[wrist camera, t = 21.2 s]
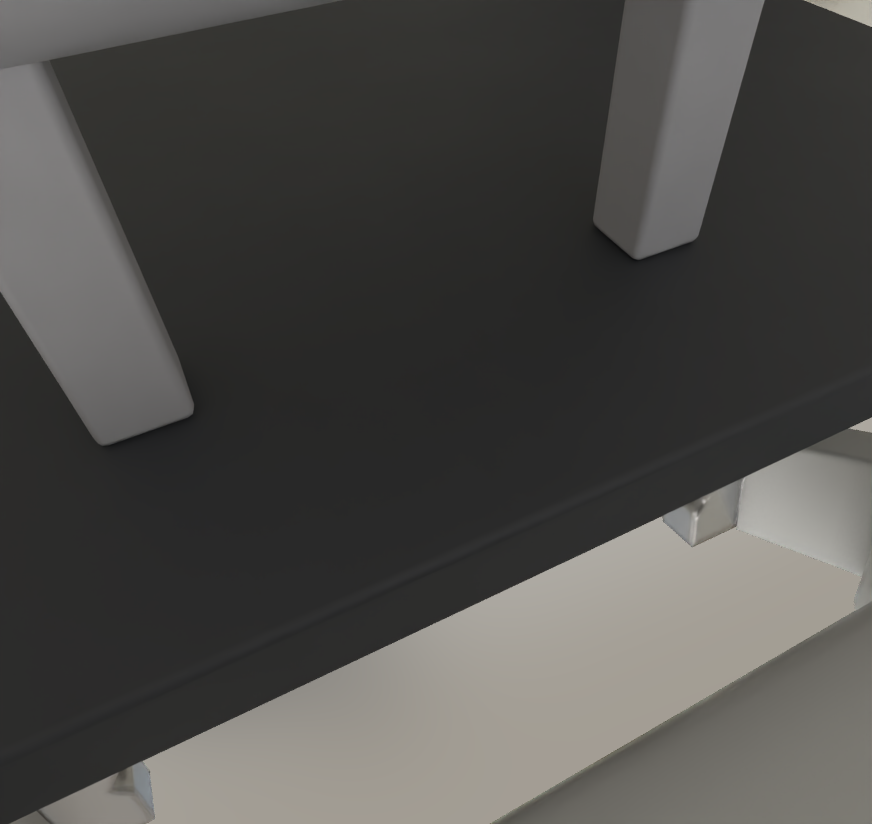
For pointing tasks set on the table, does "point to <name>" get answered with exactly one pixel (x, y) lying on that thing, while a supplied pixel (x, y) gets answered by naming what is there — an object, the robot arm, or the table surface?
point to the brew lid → (387, 323)
